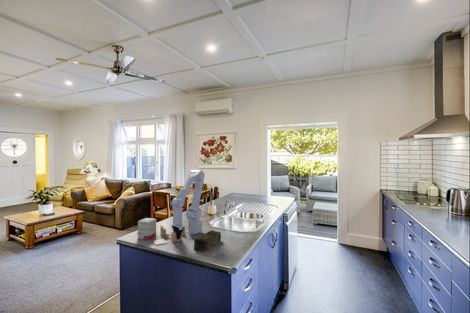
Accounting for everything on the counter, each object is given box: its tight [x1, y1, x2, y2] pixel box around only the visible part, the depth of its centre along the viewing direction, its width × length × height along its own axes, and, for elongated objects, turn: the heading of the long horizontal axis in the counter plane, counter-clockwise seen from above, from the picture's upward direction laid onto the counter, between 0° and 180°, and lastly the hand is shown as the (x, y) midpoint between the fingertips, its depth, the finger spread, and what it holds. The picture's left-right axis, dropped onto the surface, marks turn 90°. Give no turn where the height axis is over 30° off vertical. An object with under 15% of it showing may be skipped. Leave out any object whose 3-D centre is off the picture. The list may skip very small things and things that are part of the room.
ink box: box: [137, 217, 157, 241], centre depth 148 cm, size 9×9×12 cm
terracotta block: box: [170, 231, 183, 243], centre depth 144 cm, size 6×4×5 cm, turn 121°
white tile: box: [152, 238, 168, 246], centre depth 140 cm, size 7×7×1 cm
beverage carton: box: [193, 230, 222, 253], centre depth 137 cm, size 8×19×7 cm, turn 154°
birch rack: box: [159, 223, 186, 240], centre depth 154 cm, size 14×10×6 cm
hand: (177, 237), depth 144 cm, fingers closed on terracotta block, 4 cm apart
